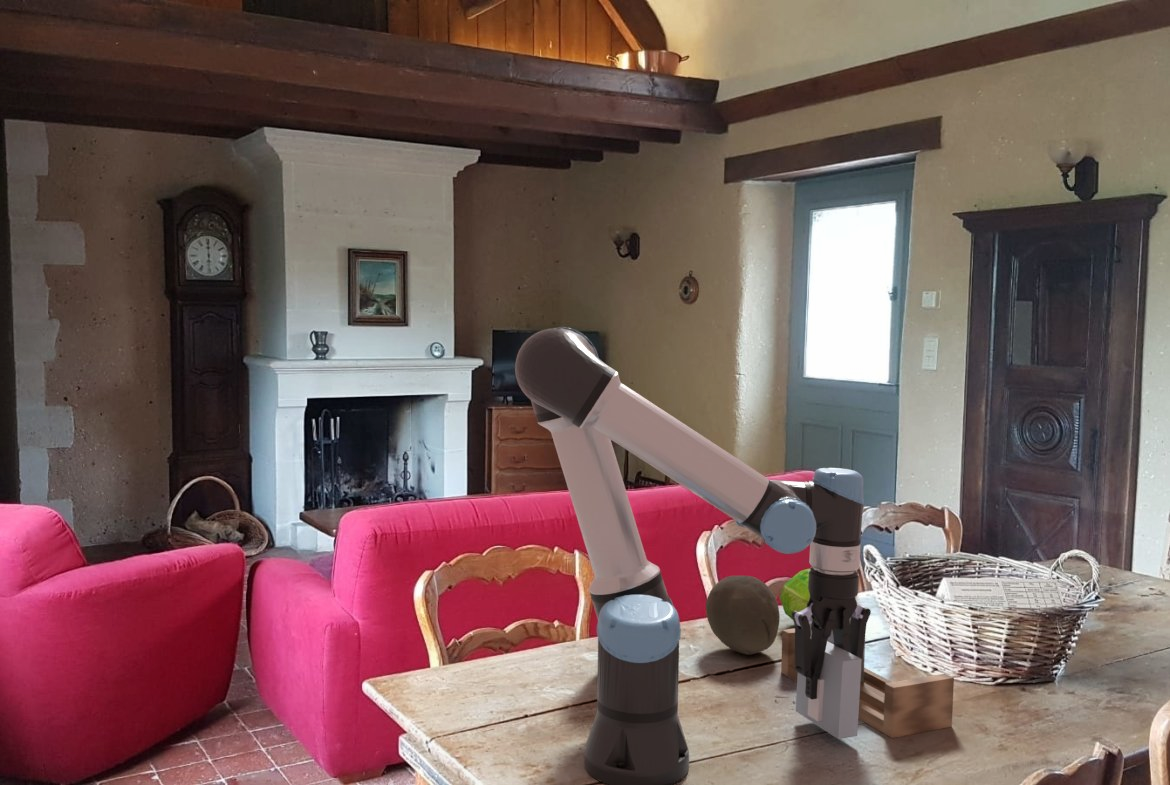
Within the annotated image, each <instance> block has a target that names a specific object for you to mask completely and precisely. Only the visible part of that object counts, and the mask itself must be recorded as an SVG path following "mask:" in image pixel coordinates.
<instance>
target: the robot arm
mask: <svg viewBox="0 0 1170 785" xmlns="http://www.w3.org/2000/svg"><path fill="white" fill-rule="evenodd" d="M514 372H515V378H516V380H517V384H518V386H519V388H520V389H521V391H522V392H523V394H524V395H525V396H526V397H527V399H529V400H530V402H531V406H532V408H533V412H534V415H535V419H536V421H537V424H538V425H539V426H542V427H543V428H545V429H546V430H548V431H549V432H550V433H551V438H552V439H553V444H554V447H555V450H556V453H557V456H558V460H559V463H560V467H561V470H562V473H563V476H564V479H565V483H566V486H567V490H568V492H569V496H570V500H571V503H572V506H573V509H574V512H575V516H576V519H577V521H578V522H577V523H578V526H579V529H580V532H581V536H582V539H583V543H584V546H585V549H586V551H587V555H588V559H589V562H590V566H591V568H592V571H593V575H594V576H593V579H592V582H590V585H589V587H588V591H589V595H590V598H591V601H592V605H593V608H594V612H595V614H596V618H597V624H596V635H597V680H596V681H597V689H596V693H597V694H596V700H597V701H596V703H597V704H596V713H595V717H594V719H593V723H592V724H591V728H590V731H589V734H588V737H587V740H586V742H585V745H584V751H583V752H584V753H583V755H584V757H583V758H584V762H583V765H584V768H585V771H586V773H588V774H589V775H590V776H591V777H592V778H594V779H596V780H597V781H599V782H602V783H604V784H606V785H673V784H676V783H677V782H679V781H681V780H682V779H684V778H685V777H686V775H687V774H688V773H689V769H690V752H689V747H688V743H687V740H686V737H685V733H684V731H683V727H682V724H681V721H680V716H679V676H680V675H679V670H680V669H679V668H680V666H679V665H680V660H679V659H680V639H681V635H682V634H681V633H682V630H681V623H680V616H679V613H678V610H677V609H676V608H675V606H674V604H673V601H672V599H671V598H670V597H669V594H668V592H667V591H668V590H667V587H666V586H665V582H664V579H663V575H662V573H661V569H660V566H658V565H656V564H654V563H652V562H651V561H649V560H648V559H647V556H646V555H647V554H646V552H645V549H644V546H643V543H642V540H641V535H640V533H639V529H638V526H637V523H636V519H635V515H634V513H633V509H632V506H631V503H630V500H629V497H628V492H627V489H626V486H625V483H624V479H623V477H622V472H621V470H620V466H619V463H618V460H617V456H616V453H615V449H614V447H613V443H612V442H614V443H616V444H617V445H619V446H621V448H623V449H625V450H626V451H628V452H629V453H631V454H632V455H634V456H635V457H637V458H638V459H640V460H642V461H643V462H645V463H646V464H648V465H650V466H651V467H653V468H654V469H656V470H658V471H659V472H661V474H663V475H665V476H667V477H668V478H670V479H671V480H673V481H675V482H676V483H677V484H679V485H680V486H681V487H683V488H686V489H687V490H688V491H690V492H691V493H693V494H694V495H696V496H697V497H700V498H701V499H703V500H704V501H705V502H707V503H709V504H710V505H711V506H714V508H716V509H717V510H719V511H721V512H722V513H723V514H726V515H727V516H728V517H730V518H732V519H733V520H734V522H735V524H736V526H738V527H740V528H747V530H749V531H751V532H752V533H754V534H755V535H757V536H758V537H760V538H761V539H762V540H763V541H764V542H765V544H766V545H767V546H768V547H770V548H771V549H773V550H775V551H776V552H778V553H781V554H785V555H786V554H787V555H791V554H796V553H797V554H798V553H800V552H802V551H804V550H805V549H807V548H808V547H809V559H808V560H809V561H808V562H809V564H810V566H811V567H810V568H808V569H809V581H808V590H809V593H810V598H809V601H808V603H807V608H805V609H804V610H802V611H800V612H798V611H793V612H792V618H793V620H792V621H793V624H794V628H795V671H796V672H798V673H800V674H801V675H803V676H805V677H806V688H805V689H806V690H805V694H806V696H807V697H808V715H809V716H810V717H812V718H813V719H815V720H816V721H818V722H819V721H822V711H823V693H824V680H823V679H822V678H820V674H821V669H822V664H823V660H824V655H825V650H826V645H827V640H828V637H830V636H831V631H833V637H834V645H836V646H838V647H839V648H841V649H843V650H845V651H847V652H849V653H851V654H853V655H855V656H857V657H859V658H861V659H862V660H863V651H864V642H865V643H866V632H867V631H866V630H867V624H868V620H869V618H870V616H871V614H872V613H871V612H872V610H871V609H870V608H868V607H866V606H864V605H862V604H858V602H857V599H856V597H857V596H858V595H859V583H860V582H859V581H860V580H859V579H860V575H859V573H858V571H857V570H859V569H860V562H861V547H862V546H861V545H862V544H861V541H862V540H861V539H862V538H861V537H862V527H863V526H862V524H863V513H864V505H865V500H864V478H863V476H862V474H861V473H859V472H858V471H856V470H854V469H853V470H852V469H848V468H840V467H822V468H821V467H820V468H818V469H816V470H815V471H814V473H813V477H812V480H807V481H797V480H780V479H777V480H776V479H769V478H768V477H767V476H765V475H763V474H761V473H760V472H758V471H757V470H755V469H754V468H753V467H751V466H749V465H748V464H747V463H745V462H743V461H742V460H740V459H739V458H737V457H735V456H734V455H732V454H731V453H730V452H728V451H727V450H725V449H723V448H722V447H720V446H719V445H717V444H715V443H714V442H713V441H711V440H710V439H708V438H707V437H705V436H703V435H702V434H701V433H699V432H697V431H696V430H694V429H693V428H691V427H689V426H688V425H687V424H685V423H684V422H682V421H680V420H679V419H678V418H676V417H674V416H673V415H671V414H670V413H668V412H667V411H665V410H663V409H662V408H660V407H658V406H657V405H656V404H655V403H652V401H650V400H648V399H647V398H645V397H644V396H642V395H641V394H639V393H637V391H635V390H633V389H631V388H630V387H628V386H627V385H626V384H624V383H622V382H621V380H620V375H619V372H618V371H617V370H615V369H614V368H612V367H610V366H609V364H606V363H605V362H604V361H602V360H601V359H600V358H599V355H598V352H597V349H596V347H595V346H594V344H593V343H592V341H591V340H590V339H589V338H588V337H587V336H586V335H584V333H582V332H580V331H578V330H576V329H574V328H570V327H566V326H565V327H564V326H558V327H553V328H546V329H542V330H540V331H538V332H535V333H534V334H532V335H531V336H530V337H528V338H526V340H525V341H524V342H523V343H522V344H521V347H520V349H519V350H518V353H517V355H516V359H515V365H514ZM811 617H812V619H813V621H811V620H810V618H811ZM850 618H851V620H850V621H849V619H850ZM811 623H812V626H811V629H810V624H811ZM811 630H812V636H811ZM861 668H862V663H861Z"/></svg>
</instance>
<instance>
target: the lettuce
mask: <svg viewBox="0 0 1170 785" xmlns="http://www.w3.org/2000/svg"><path fill="white" fill-rule="evenodd" d="M809 569H810V568H807V569H803V570H800V571H799V572H797V573H796V574H795V575H793V576H792V577H791V578H790V579H789V580H787V582H785V583H784V584H783V586H782V588H781V589H782V590H781V592H780V595H779V599H780V602H781V605H782V610H783V612H784V614H785V615H786V616H788V617H789V618H790V619H791V620H792V621H793V618H792V612H793V611H798V612H800V611H802V610H804V609H805V608H807V603H808V601H809V598H810V593H809V590H808V581H809Z"/></svg>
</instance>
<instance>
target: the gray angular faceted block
mask: <svg viewBox="0 0 1170 785" xmlns="http://www.w3.org/2000/svg"><path fill="white" fill-rule="evenodd" d="M861 663H862V659H861V658H859V657H857V656H855V655H853V654H851V653H849V652H847V651H845V650H843V649H841V648H839V647H838V646H836V645H834V644H832V643H830V642H828V641H827V645H826V650H825V655H824V660H823V664H822V669H821V674H820V678H822V679H823V680H824V693H823V711H822V721H819V722H818V721H816V720H815V719H813V718H812V717H810V716H809V715H808V697H807V696H806V694H805V690H806V689H805V688H806V677H805V676H803V675H801V674H800V673H798V676H797V682H796V694H795V696H796V698H795V712H796V713H798V714H799V715H801V716H803V717H804V718H805V719H807V720H808V721H810V722H811V723H813V724H815V725H816V726H818V728H820V729H822V730H824V731H825V732H826V733H828V734H829V735H830V736H831V735H832V736H833V737H834V738H836V739H837V740H841V739H848V738H854V737H858V730H859V729H858V728H859V727H858V726H859V718H858V714H859V697H860V680H861Z"/></svg>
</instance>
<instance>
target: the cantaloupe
mask: <svg viewBox="0 0 1170 785" xmlns="http://www.w3.org/2000/svg"><path fill="white" fill-rule="evenodd" d="M779 608H780V607H779V603H778V601H777V598H776V596H775V593H774V592H773V590H772V589H771V588H770V587H769V586H768V585H767V584H766V583H765V582H763V581H762V580H761V579H759V578H757V577H755V576H752V575H729V576H726V577H724V578H721V579H720V580H719V581H718V582H717V583H716V584H715V585H714V586H713V587H712V588H711V589H710V591H709V593H708V596H707V598H706V602H705V612H706V613H705V614H706V618H707V621H708V625H709V627H710V629H711V631H712V632H713V634H714V635H715V636H716V637H717V639H718V640H719V641H720V642H721V643H722V644H723V645H725V646H726V647H728V648H729V649H731V650H732V651H735V652H737V653H739V654H742V655H748V656H752V655H754V654H758V653H760V652H763V651H765V650H767V649H769V648H770V647H771V646H772V645H773V644H774V642H775V640H776V638H777V636H778V630H779V625H780V610H779Z"/></svg>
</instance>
